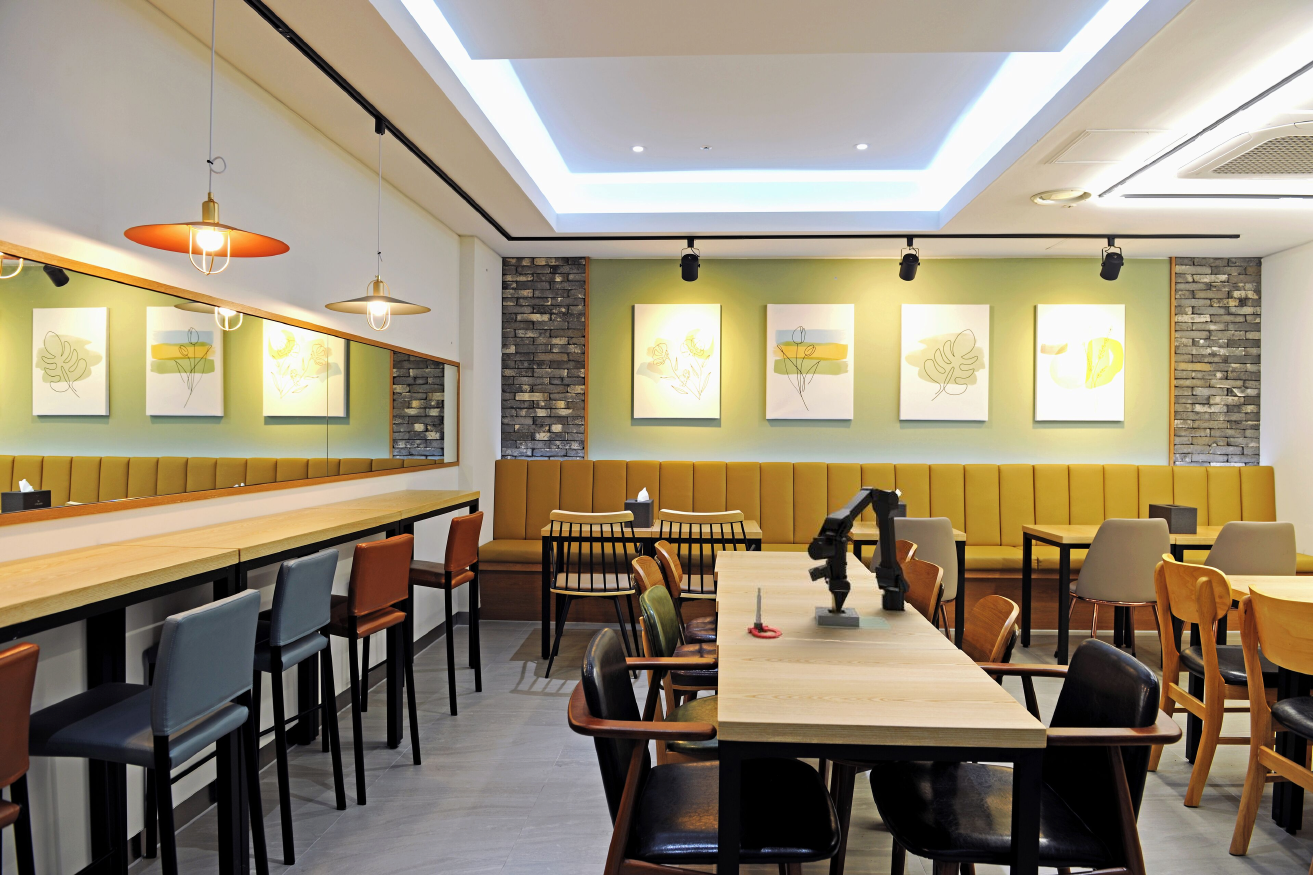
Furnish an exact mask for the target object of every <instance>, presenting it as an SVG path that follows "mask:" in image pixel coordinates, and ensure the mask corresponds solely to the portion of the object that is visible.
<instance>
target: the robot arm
mask: <svg viewBox="0 0 1313 875" xmlns="http://www.w3.org/2000/svg"><path fill="white" fill-rule="evenodd" d="M899 501H900V499H899V495H898V493H896V491H894V490H886V489H885V490H884V489H879V488H877V487H874V486H863V487H861V488H860V489H859V492H858V493H857V494H856V495H854V497H853V498H852V499H851V500H850V501H849V502H847V503H846V505H845V506H843V507H842V508H841V509H840V510H837V511H834V512H832V513H830V514H829V515H828V516H826V517H825V519H824V521H823V523H822V526H821V528H820V530H819V532H818V534H817V535H816V536H813V538H812V541H811V542H810V543H809V544H808V546H807V554H808V556H809V558H810V559H811V560H813V561H822V560H825V563H824V564H820V565H817V566H815V567H812V568H809V569H808V570H807V571H808V574H809V576H810V580H811V581H812V582H817V581H818V580H821V579H824V583H826V585H827V589H828V591H829V592H830V595H831V596H832V594H833V595H834V601H835V607H836V611H837V612H840V611H841V609H842V607H844V605H845V602H846V601H847V598H848V595H849V594H850V591H851V589H852V588H851V586H852V585H851V583H850V581H849V580H848V575H847V566H848V561H847V543H850V542H851V541H852V539H851V538H850V537H848V536H847V535H848V534H849V533H850V531H851V530H852V529H853V527H854V521H855V520H856V519H857V518H858V517H859V516H860V515H861V514H862V513H863V512H864V510H866V509H867V507H869V506H870V505H871V508H872V511H873V512H874V514H875V515H876V517H877V520H878V521H877V522H878V536H879V538H878V539H879V550H880V561H879V564H878V565H877V566H875V567H874V572H875V579H876V583H877V588H878V590H881V591H883V592H882V594H881V601H880V602H881V604H880V605H881V607H882V609H884V611H890V612H891V611H892V612H894V611H895V612H907V611H906V608H905V594H908V593H909V592H910V588H911V585H910V584H909V582H908V580H907V579H906V578H905V575H904V570H903V567H902V566H901V563H899V561H898V559H897V558H898V557H897V556H898V555H897V544H896V540H897V539H896V529H895V528H896V527H895V515H896V514H897V512H898V510H899Z"/></svg>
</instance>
